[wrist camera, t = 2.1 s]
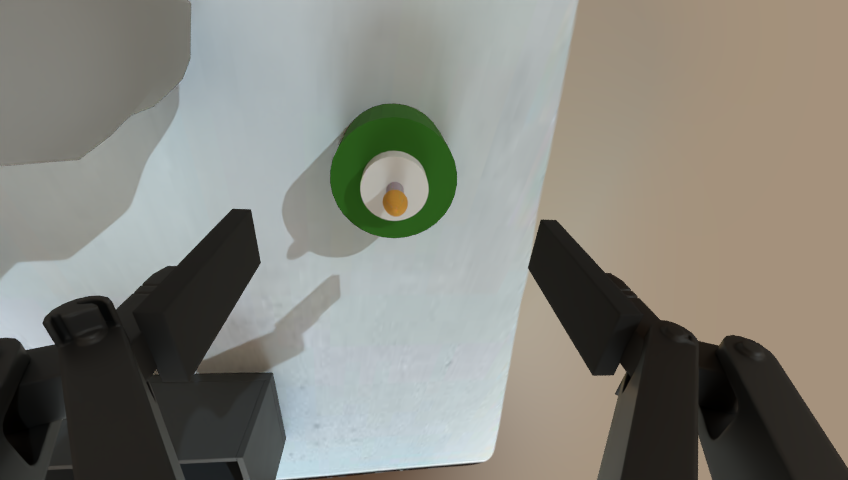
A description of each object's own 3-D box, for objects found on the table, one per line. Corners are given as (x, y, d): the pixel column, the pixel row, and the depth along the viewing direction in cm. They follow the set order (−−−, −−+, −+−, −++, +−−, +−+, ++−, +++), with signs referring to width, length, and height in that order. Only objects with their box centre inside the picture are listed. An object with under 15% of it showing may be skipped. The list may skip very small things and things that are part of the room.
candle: (406, 223, 30) (413, 295, 22) (321, 171, 28) (289, 230, 19) (466, 146, 28) (501, 193, 19) (378, 78, 25) (371, 97, 16)
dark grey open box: (138, 444, 42) (81, 535, 34) (100, 375, 36) (21, 467, 28) (286, 438, 44) (263, 523, 36) (273, 372, 38) (242, 457, 30)
